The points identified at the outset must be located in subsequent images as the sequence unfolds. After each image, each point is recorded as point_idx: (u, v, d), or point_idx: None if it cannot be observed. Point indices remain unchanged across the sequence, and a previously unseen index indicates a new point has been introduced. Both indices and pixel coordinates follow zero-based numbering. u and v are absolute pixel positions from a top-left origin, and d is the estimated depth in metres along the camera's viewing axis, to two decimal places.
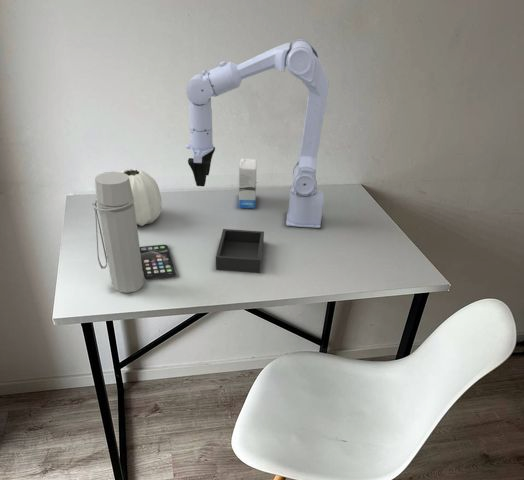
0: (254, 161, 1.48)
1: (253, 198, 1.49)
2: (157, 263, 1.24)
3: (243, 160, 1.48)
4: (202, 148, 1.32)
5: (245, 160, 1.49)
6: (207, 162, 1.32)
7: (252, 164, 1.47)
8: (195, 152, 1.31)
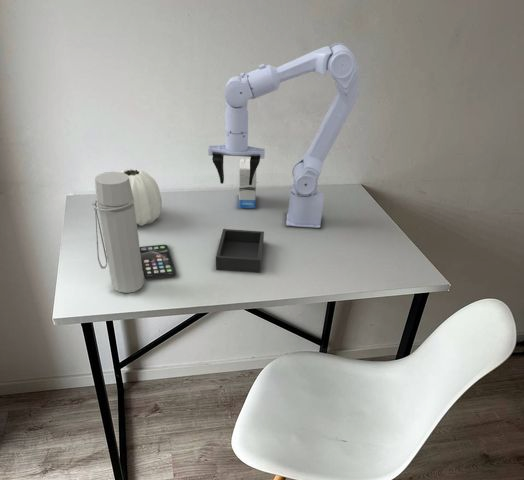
0: None
1: (253, 198, 1.49)
2: (157, 263, 1.24)
3: (243, 160, 1.48)
4: (225, 147, 1.33)
5: (245, 160, 1.49)
6: (215, 159, 1.33)
7: None
8: (218, 146, 1.34)
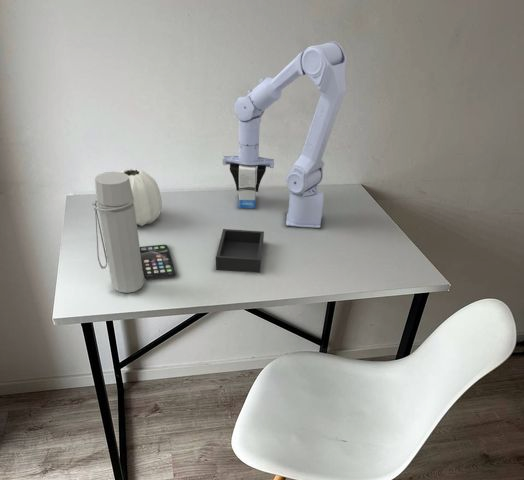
0: None
1: (253, 198, 1.49)
2: (157, 263, 1.24)
3: None
4: (238, 158, 1.45)
5: None
6: (232, 168, 1.46)
7: None
8: None
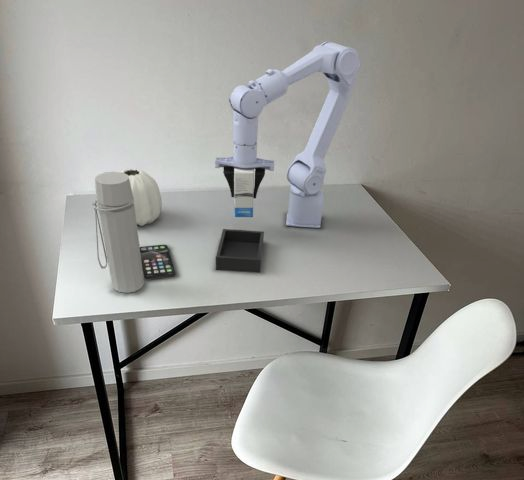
0: None
1: (251, 206, 1.30)
2: (157, 263, 1.24)
3: None
4: (233, 159, 1.26)
5: None
6: (226, 172, 1.26)
7: None
8: (225, 158, 1.27)
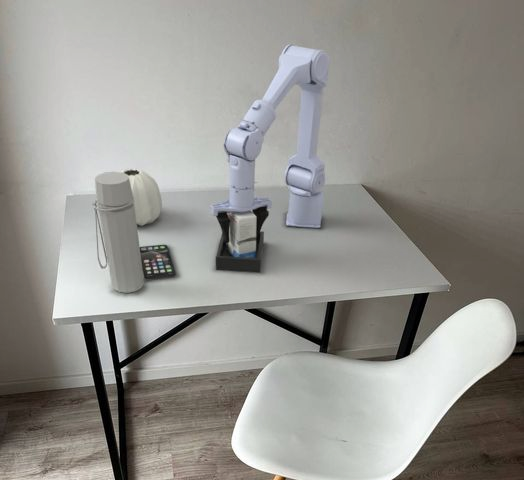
0: None
1: (254, 249, 1.25)
2: (157, 263, 1.24)
3: None
4: (231, 204, 1.19)
5: None
6: (223, 219, 1.19)
7: None
8: (221, 204, 1.20)
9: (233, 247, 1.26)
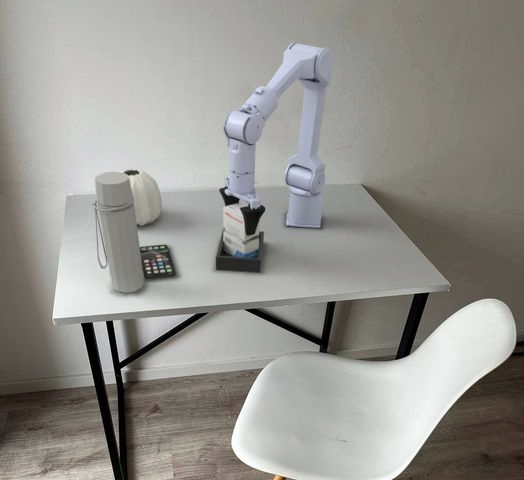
0: (241, 205, 1.24)
1: (257, 247, 1.26)
2: (157, 263, 1.24)
3: (230, 208, 1.22)
4: (249, 191, 1.17)
5: (232, 207, 1.23)
6: (262, 207, 1.16)
7: None
8: (247, 197, 1.15)
9: (236, 247, 1.25)
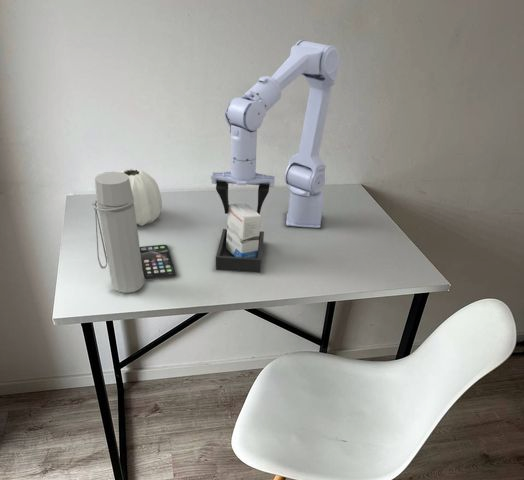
0: (247, 205, 1.24)
1: (256, 248, 1.25)
2: (157, 263, 1.24)
3: (235, 206, 1.23)
4: None
5: (237, 205, 1.23)
6: None
7: (250, 209, 1.22)
8: (263, 179, 1.18)
9: (235, 246, 1.25)
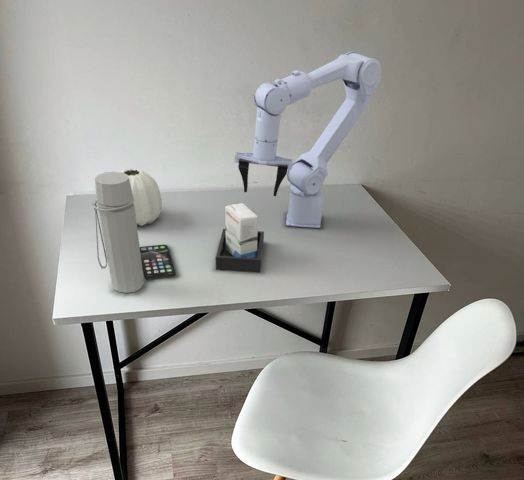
0: (243, 206, 1.24)
1: (255, 249, 1.25)
2: (157, 263, 1.24)
3: (231, 208, 1.23)
4: None
5: (233, 207, 1.23)
6: None
7: (247, 210, 1.22)
8: (282, 161, 1.28)
9: (234, 247, 1.25)
